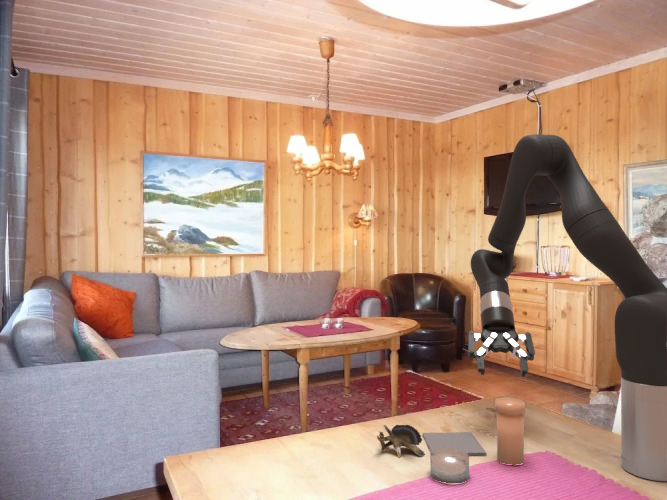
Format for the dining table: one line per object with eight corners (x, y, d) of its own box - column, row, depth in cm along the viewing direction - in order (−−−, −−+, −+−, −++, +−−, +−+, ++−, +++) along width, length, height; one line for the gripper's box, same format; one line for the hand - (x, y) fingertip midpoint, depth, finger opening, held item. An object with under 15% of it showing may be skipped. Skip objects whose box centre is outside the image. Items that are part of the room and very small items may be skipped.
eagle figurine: (378, 457, 99) (424, 451, 97) (374, 420, 103) (418, 414, 101) (384, 463, 105) (427, 458, 104) (380, 429, 109) (421, 423, 107)
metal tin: (463, 467, 96) (463, 447, 96) (473, 485, 89) (473, 463, 89) (427, 468, 96) (427, 447, 96) (434, 485, 89) (434, 463, 89)
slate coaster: (471, 434, 112) (471, 432, 112) (486, 455, 101) (486, 452, 101) (422, 435, 112) (422, 432, 112) (432, 456, 101) (432, 453, 101)
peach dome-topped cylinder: (519, 454, 102) (518, 397, 102) (530, 466, 96) (529, 406, 96) (491, 454, 102) (491, 397, 102) (501, 467, 96) (500, 406, 96)
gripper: (466, 304, 119) (470, 363, 108) (529, 305, 116) (540, 366, 105) (465, 323, 124) (468, 381, 113) (526, 324, 121) (535, 384, 110)
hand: (503, 374), depth 109 cm, fingers open, 8 cm apart
